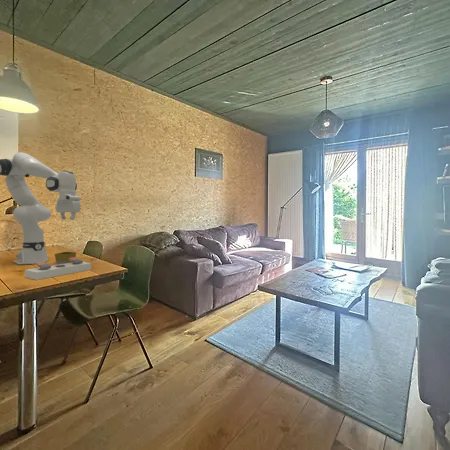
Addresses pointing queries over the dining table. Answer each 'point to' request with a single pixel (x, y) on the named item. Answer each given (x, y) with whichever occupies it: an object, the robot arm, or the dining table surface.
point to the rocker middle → (60, 262)
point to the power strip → (56, 270)
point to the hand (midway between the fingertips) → (67, 219)
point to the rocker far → (75, 260)
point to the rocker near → (42, 265)
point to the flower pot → (64, 256)
